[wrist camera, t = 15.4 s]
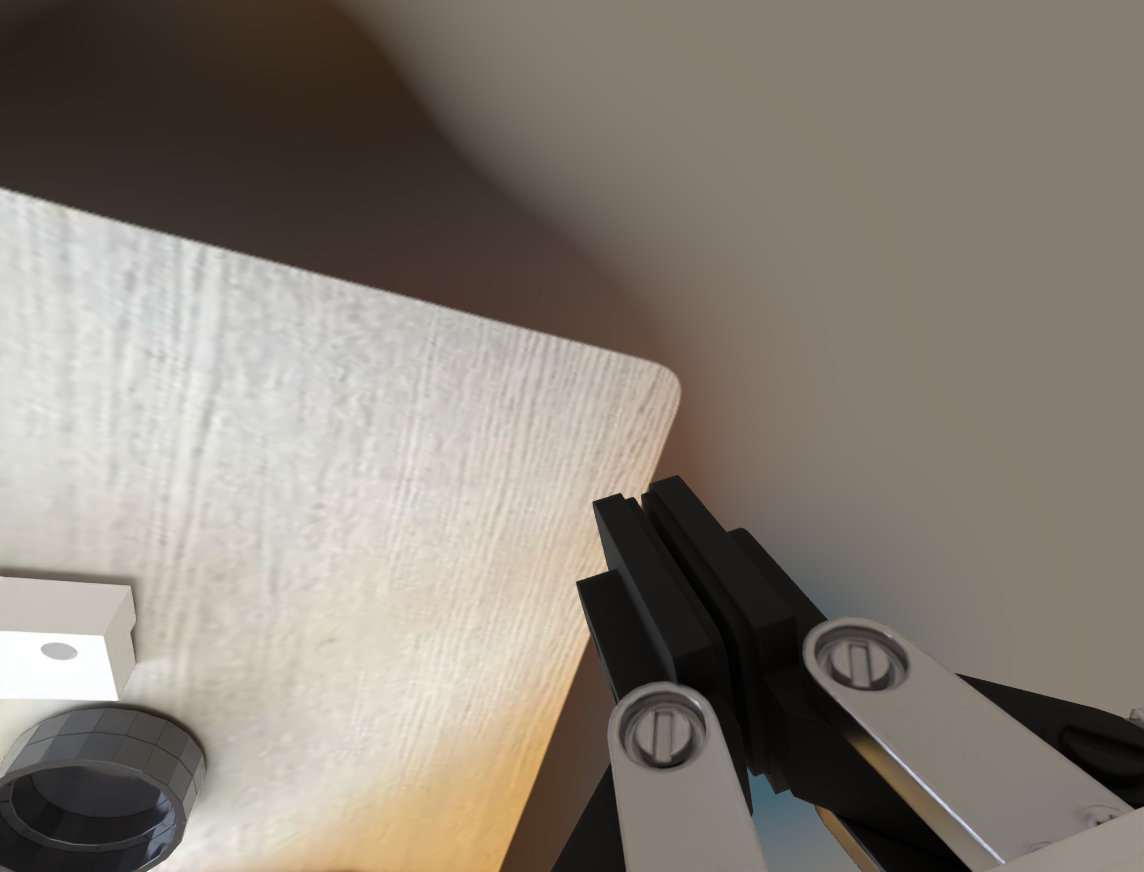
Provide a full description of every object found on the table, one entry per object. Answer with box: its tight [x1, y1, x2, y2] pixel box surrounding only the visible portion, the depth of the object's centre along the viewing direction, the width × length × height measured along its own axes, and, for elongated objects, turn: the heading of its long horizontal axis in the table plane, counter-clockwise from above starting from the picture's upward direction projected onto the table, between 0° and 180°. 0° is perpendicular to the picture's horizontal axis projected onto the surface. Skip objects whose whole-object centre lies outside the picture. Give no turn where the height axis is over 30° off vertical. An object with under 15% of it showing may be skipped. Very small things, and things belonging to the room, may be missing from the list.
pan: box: [0, 708, 206, 872], centre depth 41 cm, size 12×12×4 cm
